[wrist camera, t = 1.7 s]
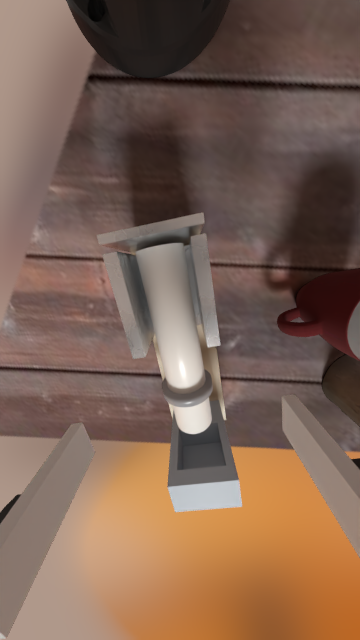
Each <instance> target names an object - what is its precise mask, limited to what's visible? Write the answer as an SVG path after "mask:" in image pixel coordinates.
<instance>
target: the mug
mask: <svg viewBox="0 0 360 640" xmlns="http://www.w3.org/2000/svg"><path fill="white" fill-rule="evenodd" d="M296 306H297V308H294V309H291V310H288V311H285V312H283V313H282V314H280V315H279V317H278V319H277V324H278V327H279V329H280V330H281V331H282V332H284V333H286V334H288V335H292V336H298V337H309V336H315V335H320V336H321V337H322V338H323V339H325V340H326V341H327V342H328V343H329V344H331V345H332V346H334V347H335V348H337V349H338V350H340V351H341V352H343V353H345V354H347V355H349V356H351V357H353V358H355V359H356V360H358V361H360V268H357V269H351V270H345V271H338V272H332V273H328V274H324V275H321V276H319V277H317V278H315V279H313V280H312V281H310V282H309V283H307V284H306V285H304V286H303V287H302V288H301V289H300V290H299V292H298V294H297V297H296ZM298 317H300V318H301V319H302V320H303V321H304V322H301V323H297V322H290V321H292V320H293V319H296V318H298Z"/></svg>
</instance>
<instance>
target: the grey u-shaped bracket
mask: <svg viewBox="0 0 360 640" xmlns="http://www.w3.org/2000/svg"><path fill="white" fill-rule="evenodd" d="M204 223H205V222H204V214H203V212H202V213H198V214H193V215H188V216H184V217H179V218H174V219H170V220H165V221H161V222H156V223H151V224H147V225H142V226H137V227H133V228H128V229H123V230H119V231H114V232H109V233H105V234H100V235H97V239H98V242H99V245H101V246H106V247H110V248H115V249H119V250H123V251H128V252H132V253H135V252H137V251H139V250H142V249H145V248H149V247H153V246H158V245H164V244H171V243H183V244H187V243H189V245H187V246H184V251H185V257H186V263H187V269H188V275H189V281H190V287H191V293H192V299H193V305H194V311H195V317H196V323H197V325H201V326H202V329H203V333H204V336H205V340H206V344H207V347H214V346H220V338H219V331H218V323H217V315H216V307H215V299H214V292H213V284H212V276H211V268H210V261H209V253H208V245H207V237H206V233H205V234H200V232H201V230H202V227H203V225H204ZM199 234H200V235H199ZM103 259H104V262H105V266H106V269H107V272H108V276H109V279H110V283H111V286H112V289H113V293H114V296H115V299H116V303H117V306H118V310H119V313H120V316H121V320H122V323H123V326H124V330H125V333H126V337H127V340H128V343H129V347H130V350H131V353H132V357H133V359H136V358H142V357H145V356H146V354H147V352H148V349H149V347H150V345H151V342H152V340H153V338H154V335H155V331H154V327H153V323H152V319H151V315H150V311H149V307H148V302H147V298H146V294H145V290H144V286H143V282H142V278H141V274H140V269H139V265H138V261H137V257H136V255H132V254H126V253H121V252H112V253H107V254H103Z"/></svg>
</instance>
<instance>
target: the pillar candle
mask: <svg viewBox="0 0 360 640" xmlns="http://www.w3.org/2000/svg"><path fill="white" fill-rule="evenodd" d="M322 387H323V392H324V394H325V395H326V397H327V398H328V399H329V400H330V401H332V402H333V403H334V404H336V405H337V406H338V407H339V408H340V409H341V411H342V412H344V413H345V414H346V415H347V416H348V417H349V418H351V419H352V420H353V421H354V422H355V423H356V424H357V425H358V426H359V427H360V361H358V360H356V359H355V358H353V357H351V356H349V355H347V354H346V355H344V356H342V357H341V358H339V359H338V360H336V362H334V363H333V364H332V365H331V366H330V368H329V369H328V371H327V373H326V375H325V377H324V380H323V383H322Z"/></svg>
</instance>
